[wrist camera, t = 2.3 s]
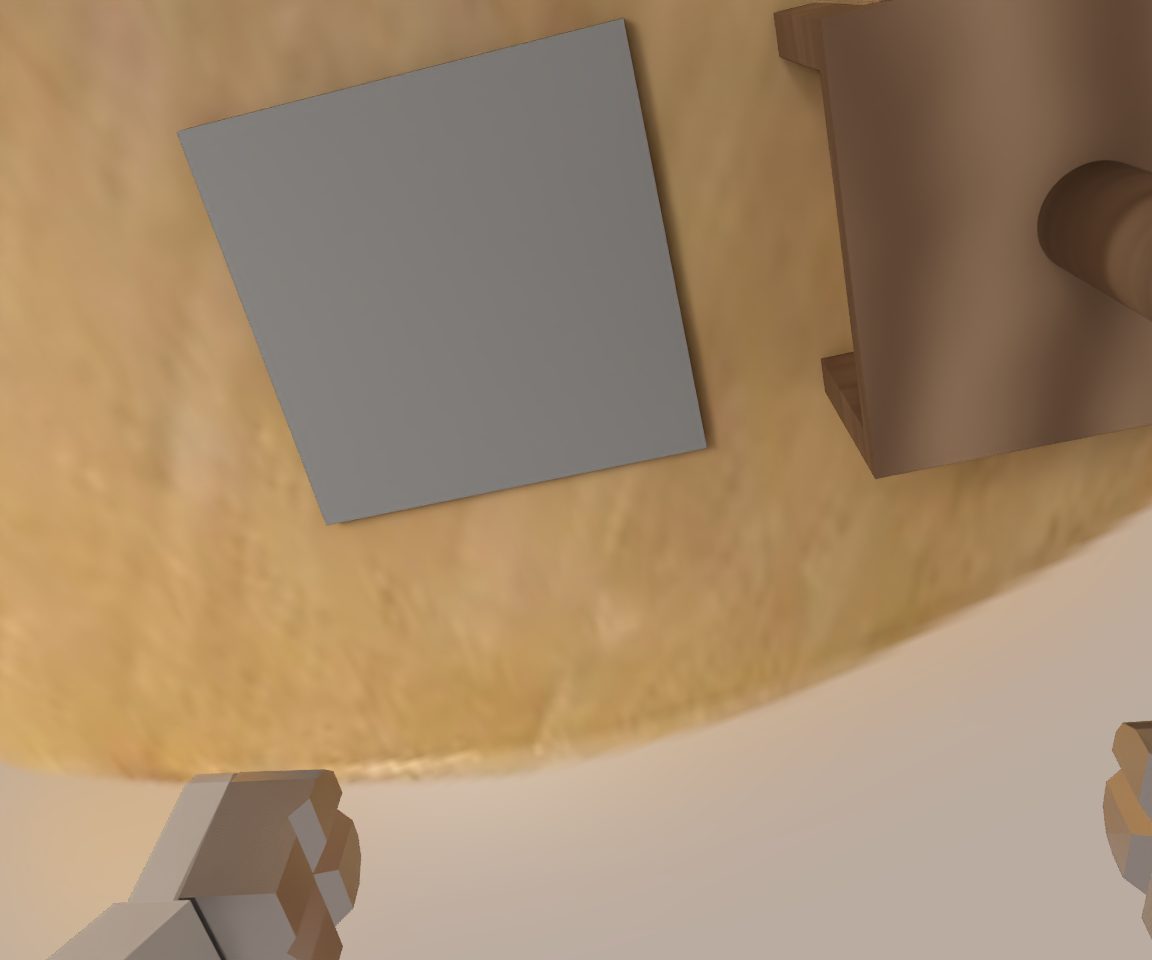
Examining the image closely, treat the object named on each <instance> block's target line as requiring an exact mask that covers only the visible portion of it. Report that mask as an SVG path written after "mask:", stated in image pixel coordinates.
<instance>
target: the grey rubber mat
mask: <svg viewBox="0 0 1152 960" xmlns="http://www.w3.org/2000/svg"><path fill="white" fill-rule="evenodd" d="M177 135H178V137H179V140H180V142H181V145H182V148H183V150H184V153H185V156H186V158H187V161H188V163H189V166H190V169H191V171H192V174H193V177H194V179H195V182H196V184H197V187H198V190H199V192H200V195H201V198H202V200H203V203H204V205H205V208H206V211H207V213H208V216H209V219H210V221H211V224H212V226H213V229H214V232H215V234H216V237H217V240H218V242H219V245H220V247H221V250H222V253H223V255H224V258H225V261H226V263H227V266H228V268H229V271H230V274H231V276H232V279H233V281H234V284H235V287H236V289H237V292H238V295H239V297H240V300H241V302H242V305H243V308H244V310H245V313H246V316H247V318H248V321H249V323H250V326H251V329H252V331H253V334H254V337H255V339H256V342H257V344H258V347H259V350H260V352H261V355H262V358H263V360H264V363H265V365H266V368H267V371H268V373H269V376H270V379H271V381H272V384H273V386H274V389H275V392H276V394H277V397H278V400H279V402H280V405H281V407H282V410H283V413H284V415H285V418H286V421H287V423H288V426H289V428H290V431H291V434H292V436H293V439H294V442H295V444H296V447H297V449H298V452H299V455H300V457H301V460H302V463H303V465H304V468H305V470H306V473H307V476H308V478H309V481H310V483H311V486H312V489H313V491H314V494H315V497H316V499H317V502H318V504H319V507H320V510H321V512H322V515H323V518H324V520H325V523H326V525H331V524H336V523H341V522H346V521H351V520H356V519H361V518H366V517H370V516H375V515H380V514H385V513H390V512H395V511H400V510H405V509H410V508H415V507H420V506H424V505H429V504H434V503H439V502H444V501H449V500H454V499H459V498H464V497H469V496H474V495H479V494H483V493H488V492H493V491H498V490H503V489H508V488H513V487H518V486H523V485H528V484H533V483H537V482H542V481H547V480H552V479H557V478H562V477H567V476H572V475H577V474H582V473H587V472H591V471H596V470H601V469H606V468H611V467H616V466H621V465H626V464H631V463H636V462H641V461H645V460H650V459H655V458H660V457H665V456H670V455H675V454H680V453H685V452H690V451H695V450H700V449H704V448H707V446H706V441H705V436H704V431H703V425H702V420H701V415H700V410H699V405H698V400H697V395H696V389H695V384H694V379H693V374H692V369H691V364H690V359H689V353H688V348H687V343H686V338H685V333H684V328H683V323H682V317H681V312H680V307H679V302H678V297H677V292H676V286H675V281H674V276H673V271H672V266H671V261H670V256H669V250H668V245H667V240H666V235H665V230H664V225H663V220H662V214H661V209H660V204H659V199H658V194H657V189H656V184H655V178H654V173H653V168H652V163H651V158H650V153H649V148H648V142H647V137H646V132H645V127H644V122H643V117H642V112H641V106H640V101H639V96H638V91H637V86H636V81H635V75H634V70H633V65H632V60H631V55H630V50H629V45H628V39H627V34H626V29H625V24H624V19H623V18H621V19H617V20H613V21H609V22H606V23H602V24H598V25H594V26H590V27H586V28H582V29H578V30H574V31H570V32H566V33H562V34H558V35H554V36H550V37H546V38H543V39H539V40H535V41H531V42H527V43H523V44H519V45H515V46H511V47H507V48H503V49H499V50H495V51H491V52H487V53H483V54H479V55H476V56H472V57H468V58H464V59H460V60H456V61H452V62H448V63H444V64H440V65H436V66H432V67H428V68H424V69H420V70H416V71H412V72H409V73H405V74H401V75H397V76H393V77H389V78H385V79H381V80H377V81H373V82H369V83H365V84H361V85H357V86H353V87H349V88H346V89H342V90H338V91H334V92H330V93H326V94H322V95H318V96H314V97H310V98H306V99H302V100H298V101H294V102H290V103H286V104H282V105H279V106H275V107H271V108H267V109H263V110H259V111H255V112H251V113H247V114H243V115H239V116H235V117H231V118H227V119H223V120H219V121H216V122H212V123H208V124H204V125H200V126H196V127H192V128H188V129H184V130H181V131H178V132H177Z"/></svg>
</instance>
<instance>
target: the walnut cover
mask: <svg viewBox="0 0 1152 960" xmlns="http://www.w3.org/2000/svg"><path fill="white" fill-rule="evenodd" d="M774 20H775V27H776V34H777V42H778V49H779V56H780V57H782V58H785V59H788V60H791V61H794V62H796V63H799V64H802V65H805V66H807V67H810V68H813V69H816V70H819V71H820V76H821V85H822V93H823V101H824V109H825V117H826V126H827V134H828V142H829V150H830V158H831V167H832V175H833V183H834V191H835V199H836V208H837V216H838V224H839V232H840V240H841V249H842V257H843V265H844V273H845V281H846V290H847V298H848V306H849V314H850V323H851V331H852V339H853V347H854V352H851V353H847V354H842V355H837V356H832V357H828V358H823V359H821V363H822V371H823V378H824V385H825V392H826V394H827V395H828V397H829V399H830V401H831V402H832V404H833V406H834V408H835V409H836V411H837V413H838V415H839V416H840V418H841V420H842V422H843V423H844V425H845V427H846V429H847V430H848V432H849V434H850V436H851V437H852V439H853V441H854V442H855V444H856V446H857V448H858V449H859V451H860V453H861V455H862V456H863V458H864V460H865V462H866V463H867V465H868V467H869V469H870V470H871V472H872V474H873V476H874V477H875V479H877V478H882V477H887V476H892V475H898V474H903V473H908V472H913V471H918V470H923V469H928V468H933V467H938V466H943V465H948V464H953V463H959V462H964V461H969V460H974V459H979V458H984V457H989V456H994V455H999V454H1004V453H1009V452H1015V451H1020V450H1025V449H1030V448H1035V447H1040V446H1045V445H1050V444H1055V443H1060V442H1065V441H1071V440H1076V439H1081V438H1086V437H1091V436H1096V435H1101V434H1106V433H1111V432H1116V431H1121V430H1126V429H1132V428H1137V427H1142V426H1147V425H1152V0H884V1H880V2H876V3H872V4H868V5H849V4H831V3H811V4H807V5H803V6H799V7H795V8H791V9H787V10H783V11H779V12H775V13H774Z"/></svg>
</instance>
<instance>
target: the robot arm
mask: <svg viewBox="0 0 1152 960" xmlns="http://www.w3.org/2000/svg"><path fill="white" fill-rule="evenodd" d="M1112 751H1113V753H1114V755H1115V757H1116V759H1117V761H1118V763H1119V765H1120V767H1121V770H1120V771H1118V772H1117V773H1116V774H1115V775H1114V776H1113V777H1111V779H1109V780H1108V781H1107V782H1106V788H1105V795H1104V803H1103V809H1104V819H1105V826H1106V834H1107V838H1108V841H1109V844H1110V847H1111V850H1112V854H1113V856H1114V859H1115V861H1116V863H1117V865H1118V868H1119V870H1120V872H1121V874H1122V876H1123V878H1125V879H1126V880H1127V881H1129V882H1130V883H1131V884H1133V885H1134V886H1135V887H1137V888H1138V889H1139V890H1141V891H1142V892H1143V893H1145V894H1146V895H1147V896H1146V901H1145V906H1144V910H1143V914H1142V919H1143V922H1144V923H1145V926H1146V928H1147V930H1148V932H1149V934H1150V936H1151V938H1152V721H1142V722H1128V723H1122V725H1121V726H1120V727H1119V729H1118V730H1117V731H1116V735H1115V739H1114V744H1113V749H1112ZM341 795H342V791H341V788H340V786H339V784H338V781H337V779H336V777H335V774H334V772H333V771H329V770H293V771H261V772H240V773H221V774H197V775H196V776H195V777H193V778H192V779H191V780H190V781H189V782H188V783H187V784H186V785H185V786H184V788H183V790H182V792H181V794H180V796H179V798H178V800H177V802H176V804H175V806H174V809H173V810H172V812H171V814H170V817H169V818H168V820H167V822H166V825H165V827H164V829H163V831H162V833H161V835H160V837H159V839H158V841H157V843H156V845H155V847H154V849H153V851H152V853H151V855H150V857H149V859H148V861H147V863H146V865H145V867H144V869H143V871H142V873H141V875H140V877H139V880H138V881H137V883H136V885H135V887H134V889H133V892H132V893H131V896H130V897H129V899H128V902H124V903H114V904H112V905H111V906H110V907H109V908H108V909H107V910H105V911H104V912H103V913H102V914H101V915H100V916H98V917H97V918H96V919H94V920H93V921H92V922H91V923H90V924H88V925H87V926H86V927H85V928H84V929H82V930H81V931H80V932H79V933H78V934H77V935H75V936H74V937H73V938H72V939H70V940H69V941H68V942H67V943H66V944H65V945H63V946H62V947H61V948H60V949H58V950H57V951H56V952H55V953H54V954H52V955H51V956H50V957H49V958H48V959H46V960H339V958H340V955H341V951H342V947H343V946H342V943H341V941H340V938H339V936H338V933H337V931H336V928H335V926H336V925H337V924H338V923H339V922H340V921H341V920H342V919H343V918H344V917H345V916H346V915H347V914H348V913H349V912H350V911H351V910H352V909H353V907H354V903H355V899H356V895H357V891H358V887H359V881H360V880H359V879H360V864H361V853H360V846H359V839H358V834H357V832H356V829H355V826H354V823H353V821H352V820H351V819H350V818H349V817H347V816H346V815H344V814H343V813H342V812H340V811H339V810H337V808H338V804H339V801H340V798H341Z"/></svg>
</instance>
